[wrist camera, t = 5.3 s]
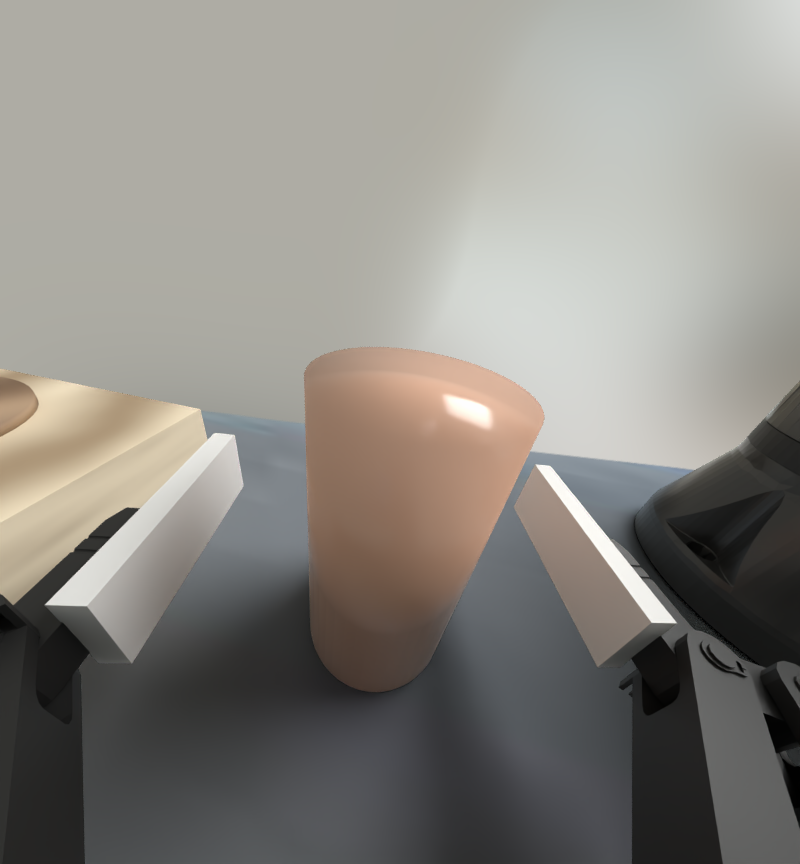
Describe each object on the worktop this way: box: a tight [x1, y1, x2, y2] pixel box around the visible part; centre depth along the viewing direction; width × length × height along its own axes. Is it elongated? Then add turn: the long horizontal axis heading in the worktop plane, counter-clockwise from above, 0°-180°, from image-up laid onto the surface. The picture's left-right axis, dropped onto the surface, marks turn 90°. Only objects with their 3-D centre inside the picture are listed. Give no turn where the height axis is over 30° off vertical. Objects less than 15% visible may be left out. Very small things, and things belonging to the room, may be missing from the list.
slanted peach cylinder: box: [304, 347, 544, 692], centre depth 11 cm, size 6×6×12 cm
